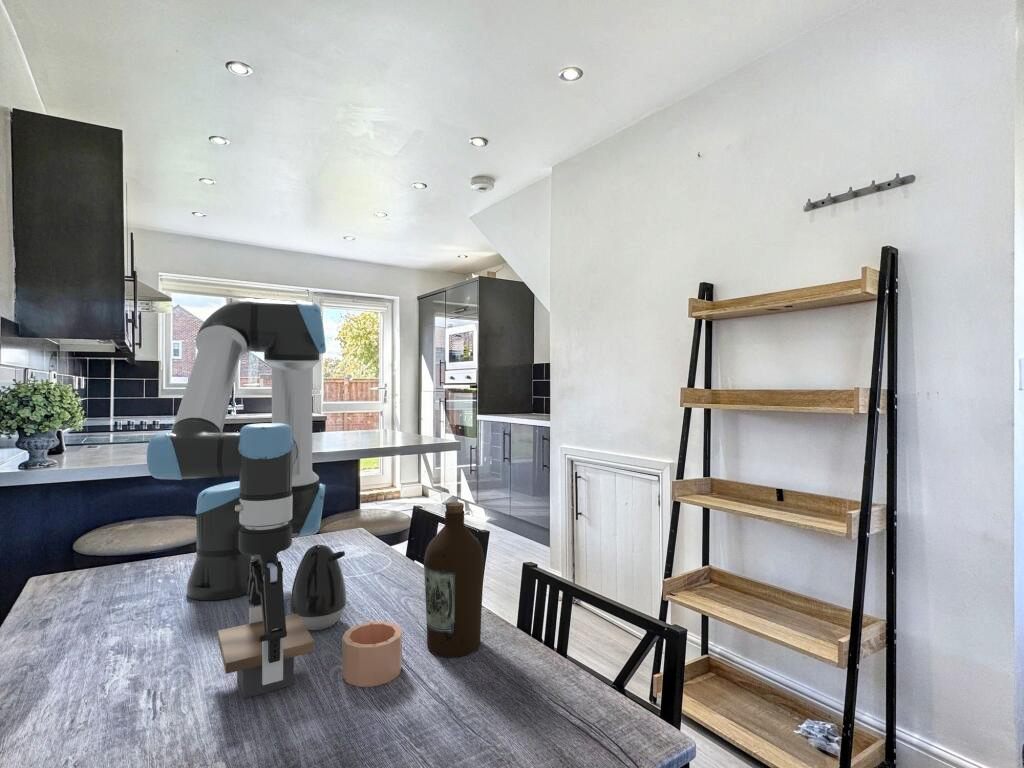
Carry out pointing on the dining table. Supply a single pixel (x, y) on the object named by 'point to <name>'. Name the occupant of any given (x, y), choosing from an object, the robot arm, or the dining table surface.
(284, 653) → the lid
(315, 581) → the pump dispenser
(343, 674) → the bowl
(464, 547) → the olive oil
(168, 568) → the dining table surface
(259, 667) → the block
